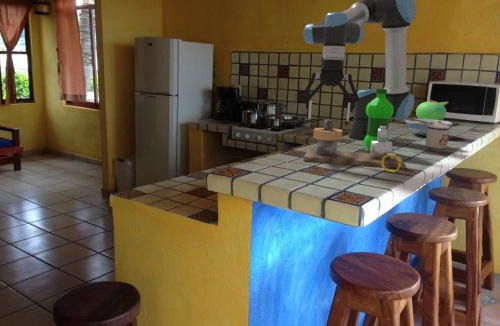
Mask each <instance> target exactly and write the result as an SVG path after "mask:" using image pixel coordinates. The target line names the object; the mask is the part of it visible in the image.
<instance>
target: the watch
mask: <svg viewBox="0 0 500 326" xmlns="http://www.w3.org/2000/svg"><path fill="white" fill-rule="evenodd" d="M396 155H397V153H392V152H391V153H388V154H387V155H386V156H384V158H383V159H382V161H381V165H382V167H381V168H382V169H383V170H384V171H385V172H391V173H395V172H397V171H399V170H400V166H401V161H400V159H399V157H397V156H396ZM387 156H390V157H395V158H396V159H397V160H398V162H399V164H398V168H396V169H395V170H392V169H388V168H387V167H384V159H385V158H386V157H387Z"/></svg>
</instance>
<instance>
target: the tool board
mask: <svg viewBox="0 0 500 326" xmlns="http://www.w3.org/2000/svg"><path fill="white" fill-rule="evenodd" d="M333 122H334V121H333V120H332V119H324V127H323V128H324V131H332V128H333ZM316 141H317V143H316V148H307V150H306V152H305V154H304V156H303V162H313V163H324V164H338V165H351V166H365V167H374V168H375V167H376V168H377V167H378V168H382V165H381V161H382V160H376V159H371V158H370V152H356V151H354V152H353V151H342V150H338V140H334V141H331V140H320V139H316ZM396 156H397V157H399V159H400V161H401V166H400V168H399V170H401V169H403V170H404V169H405V163H404V160H403V159H402V156H401V155H397V154H396ZM398 164H399V162H398V160H397V159H396V158H395V157H391V159H390V160H384V167H385V168H386V169H388V168H389V169H397V168H398Z"/></svg>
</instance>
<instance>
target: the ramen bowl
mask: <svg viewBox="0 0 500 326" xmlns="http://www.w3.org/2000/svg"><path fill="white" fill-rule="evenodd" d="M404 121H405V123H406V125H407V127H408V128H409V130H410V131H412V132H414V134H415V133H416V134H418V136H422V137H427V130H428V128H427V127H428V125H431V124H433V123H437V120H432V119H419V118H412V117H408V118H406V119H404ZM440 121H442V123H443V124H445V125H446V126H449V127H450V128H451V127H452V125H453V122H450V121H447V120H446V121H445V120H440Z"/></svg>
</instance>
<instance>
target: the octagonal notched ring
mask: <svg viewBox="0 0 500 326" xmlns="http://www.w3.org/2000/svg"><path fill="white" fill-rule="evenodd" d="M312 135H313V136H312V138H313V139H316V140H317V139H320V140H331V141H334V140H337V141H341V140H342V138H343V129H339V128H333V127H332V131H324V127H317V128H316V127H315V128H314V129H313V134H312Z"/></svg>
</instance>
